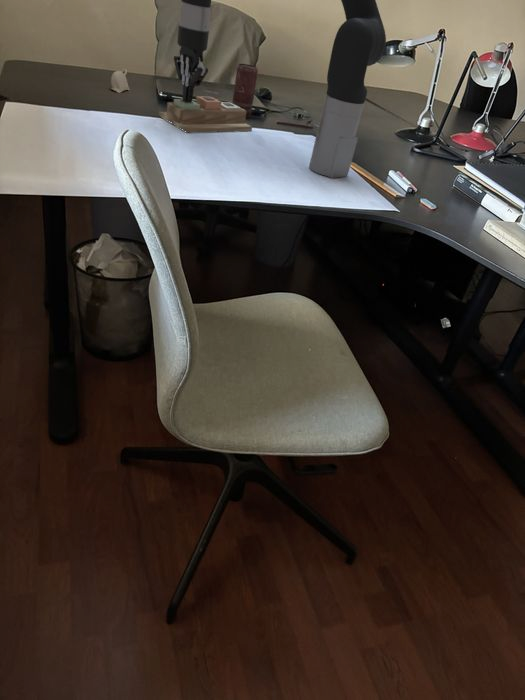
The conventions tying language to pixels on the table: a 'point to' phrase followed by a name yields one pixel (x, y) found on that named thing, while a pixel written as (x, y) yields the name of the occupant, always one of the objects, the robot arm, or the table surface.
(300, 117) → the table surface
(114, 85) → the decorative ornament
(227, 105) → the cream key
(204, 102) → the terracotta key
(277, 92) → the table surface
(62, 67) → the table surface
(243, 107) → the can
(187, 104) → the sage key
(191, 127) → the keypad board
